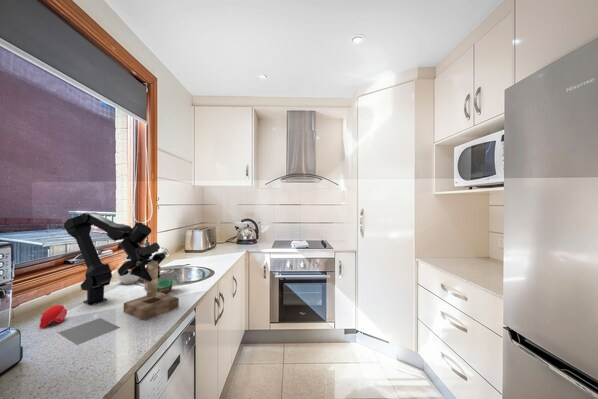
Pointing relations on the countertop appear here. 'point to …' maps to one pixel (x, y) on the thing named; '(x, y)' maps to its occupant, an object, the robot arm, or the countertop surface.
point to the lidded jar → (128, 278)
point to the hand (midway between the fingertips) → (155, 279)
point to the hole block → (151, 306)
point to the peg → (154, 275)
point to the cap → (53, 315)
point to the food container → (165, 282)
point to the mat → (88, 331)
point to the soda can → (147, 271)
